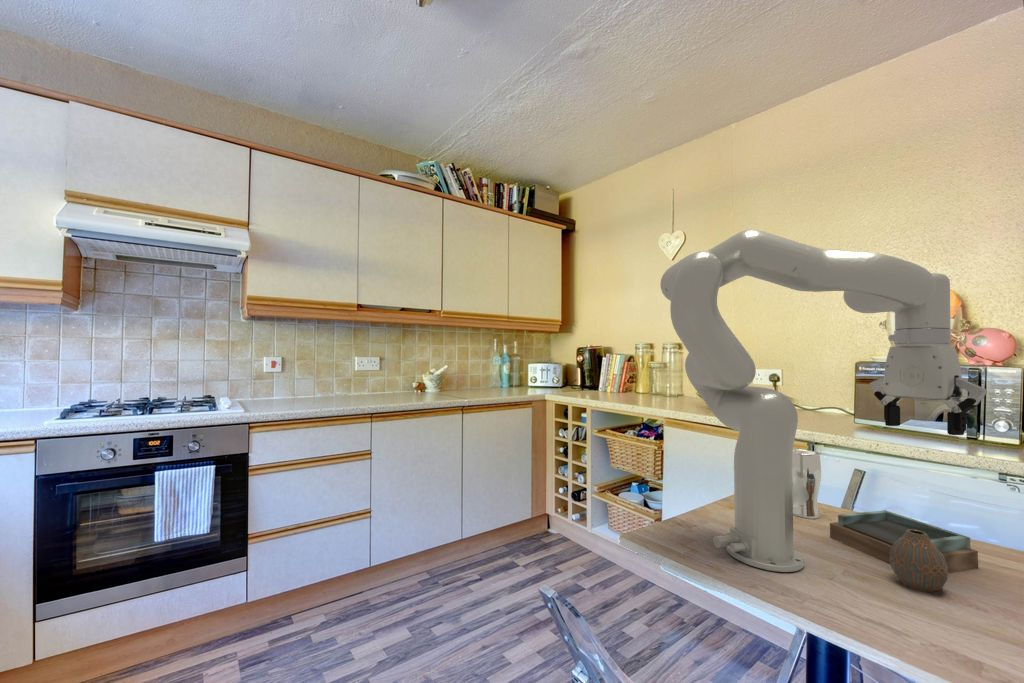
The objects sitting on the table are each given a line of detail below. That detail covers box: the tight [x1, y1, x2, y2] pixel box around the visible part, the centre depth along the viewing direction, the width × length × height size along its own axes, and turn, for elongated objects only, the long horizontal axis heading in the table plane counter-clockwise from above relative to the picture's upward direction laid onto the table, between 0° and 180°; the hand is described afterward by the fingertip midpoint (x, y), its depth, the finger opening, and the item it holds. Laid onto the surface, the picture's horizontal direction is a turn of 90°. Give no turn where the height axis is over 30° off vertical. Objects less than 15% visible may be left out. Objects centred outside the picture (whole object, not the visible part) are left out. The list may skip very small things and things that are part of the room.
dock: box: [829, 509, 979, 574], centre depth 81 cm, size 14×16×5 cm
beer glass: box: [792, 448, 822, 520], centre depth 101 cm, size 7×7×15 cm
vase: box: [889, 529, 949, 593], centre depth 69 cm, size 7×7×9 cm
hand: (922, 430), depth 78 cm, fingers open, 9 cm apart
